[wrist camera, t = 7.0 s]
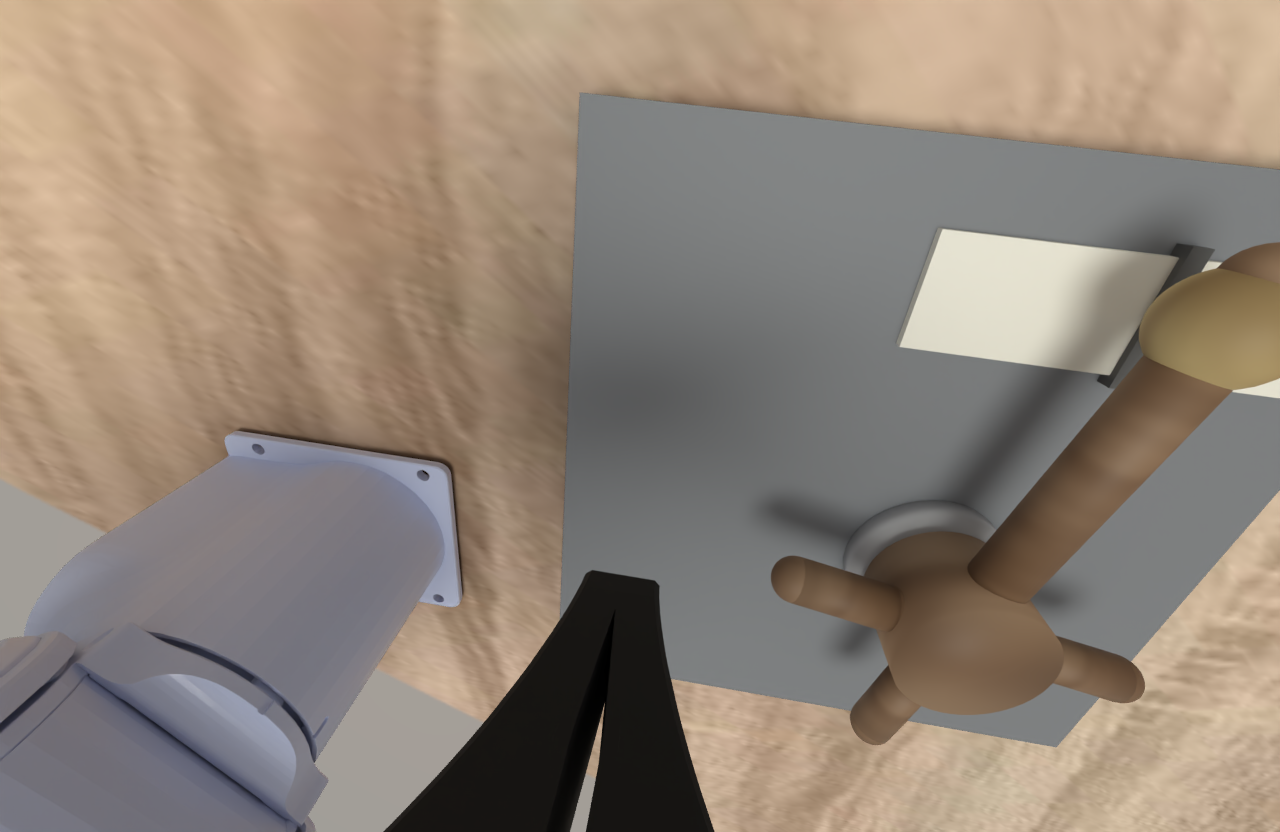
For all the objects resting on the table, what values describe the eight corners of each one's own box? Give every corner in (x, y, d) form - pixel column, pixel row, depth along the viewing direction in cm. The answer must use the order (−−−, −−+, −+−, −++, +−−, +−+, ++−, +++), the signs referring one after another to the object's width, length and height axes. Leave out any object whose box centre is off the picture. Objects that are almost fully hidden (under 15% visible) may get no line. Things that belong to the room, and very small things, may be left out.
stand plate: (566, 631, 24) (553, 674, 22) (592, 97, 14) (572, 89, 12) (1036, 713, 23) (1067, 766, 21) (1448, 192, 13) (1587, 201, 11)
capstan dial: (988, 725, 20) (1034, 819, 17) (707, 640, 20) (706, 721, 17) (1451, 309, 12) (1685, 360, 9) (972, 150, 11) (1059, 150, 9)
